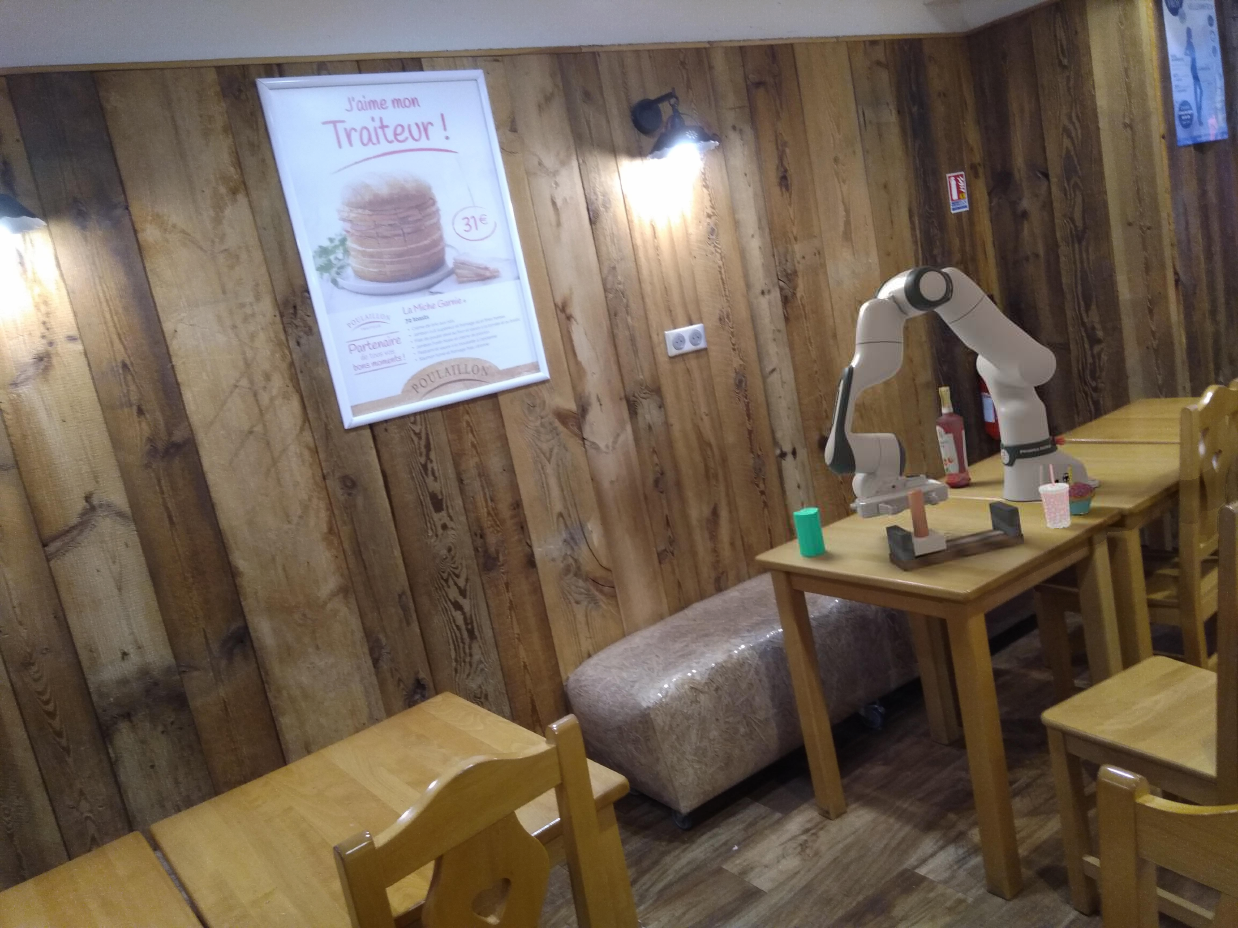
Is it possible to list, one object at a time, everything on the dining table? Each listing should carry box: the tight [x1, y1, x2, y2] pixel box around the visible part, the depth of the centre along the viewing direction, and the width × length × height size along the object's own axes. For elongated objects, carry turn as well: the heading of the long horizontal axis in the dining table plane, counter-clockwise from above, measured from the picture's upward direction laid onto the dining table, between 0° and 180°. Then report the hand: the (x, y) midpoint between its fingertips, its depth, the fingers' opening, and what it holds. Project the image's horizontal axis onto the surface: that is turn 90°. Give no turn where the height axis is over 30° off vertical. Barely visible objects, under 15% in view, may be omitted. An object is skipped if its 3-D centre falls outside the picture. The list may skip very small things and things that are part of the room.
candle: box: [793, 504, 826, 557], centre depth 218 cm, size 6×6×12 cm
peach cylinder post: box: [908, 489, 947, 556], centre depth 195 cm, size 7×7×13 cm
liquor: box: [934, 386, 972, 489], centre depth 250 cm, size 7×7×28 cm
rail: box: [885, 500, 1025, 572], centre depth 196 cm, size 27×8×8 cm, turn 95°
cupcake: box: [1066, 464, 1096, 514], centre depth 206 cm, size 9×8×12 cm
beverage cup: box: [1039, 465, 1071, 529], centre depth 199 cm, size 6×6×14 cm
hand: (914, 506), depth 196 cm, fingers open, 8 cm apart
